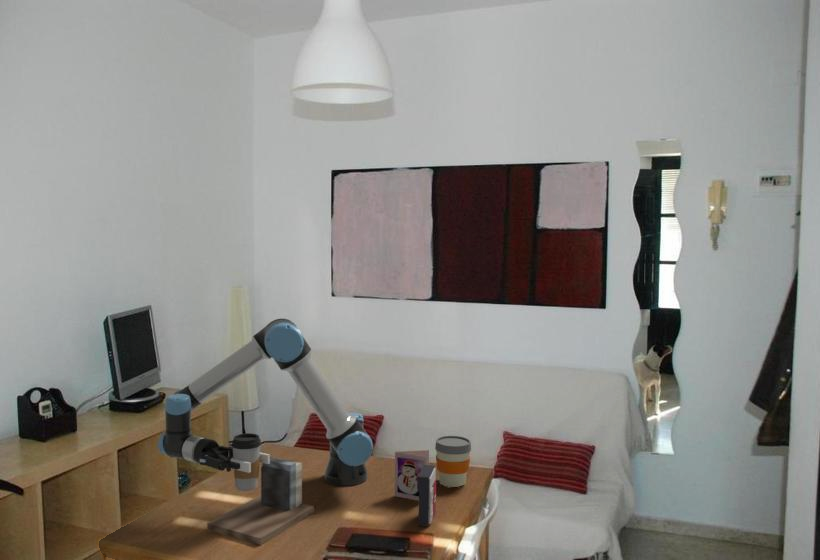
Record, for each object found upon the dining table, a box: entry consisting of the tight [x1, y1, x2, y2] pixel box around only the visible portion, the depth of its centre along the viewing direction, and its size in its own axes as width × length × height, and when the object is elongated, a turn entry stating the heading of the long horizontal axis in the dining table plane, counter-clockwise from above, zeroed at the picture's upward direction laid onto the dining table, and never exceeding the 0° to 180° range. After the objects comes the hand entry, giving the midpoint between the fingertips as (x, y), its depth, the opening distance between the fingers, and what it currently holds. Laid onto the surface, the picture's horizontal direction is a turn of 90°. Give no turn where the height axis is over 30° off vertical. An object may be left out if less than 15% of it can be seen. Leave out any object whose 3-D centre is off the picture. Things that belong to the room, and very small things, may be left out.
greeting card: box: [393, 449, 430, 501], centre depth 221 cm, size 11×7×15 cm, turn 65°
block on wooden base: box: [206, 457, 315, 546], centre depth 200 cm, size 20×25×16 cm
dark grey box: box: [417, 464, 437, 527], centre depth 203 cm, size 11×4×15 cm, turn 168°
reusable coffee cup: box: [434, 435, 472, 488], centre depth 233 cm, size 13×13×15 cm
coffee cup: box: [231, 432, 262, 492], centre depth 196 cm, size 8×8×15 cm
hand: (259, 463), depth 193 cm, fingers closed on coffee cup, 7 cm apart
